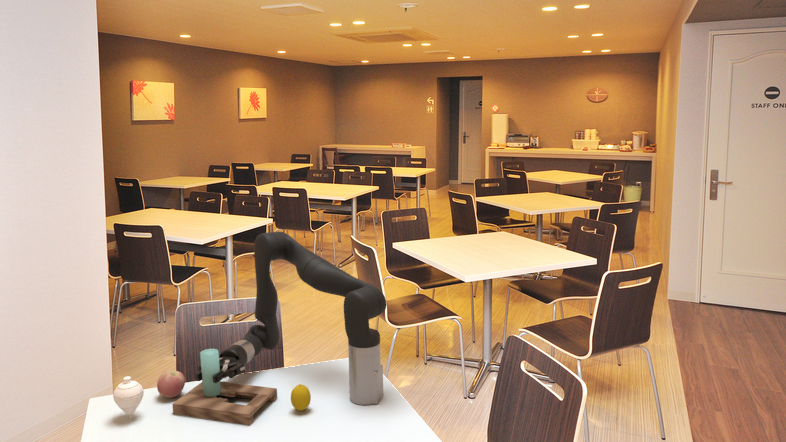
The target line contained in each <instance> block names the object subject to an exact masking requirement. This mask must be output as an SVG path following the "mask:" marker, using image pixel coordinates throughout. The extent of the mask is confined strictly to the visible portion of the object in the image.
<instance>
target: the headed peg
mask: <svg viewBox="0 0 786 442" xmlns="http://www.w3.org/2000/svg"><path fill="white" fill-rule="evenodd" d="M219 353H220V352H219V349H217V348H206V349H204V350H203V349H202V350H201V351H200V352H199V356H200V357H199V358H200V364H201V371H202V380H201V382H202V384H203V395H204V396H207V397H216V398H223V396H221V395H219V394H220V393H221V382H222V380H221V381H219V382H217V383H213V376H214V375H215V374H217V373H218V372H219V371H220V365H219V356H220V354H219Z"/></svg>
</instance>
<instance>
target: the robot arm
mask: <svg viewBox="0 0 786 442" xmlns="http://www.w3.org/2000/svg"><path fill="white" fill-rule="evenodd" d="M253 254H254V268H255V269H254V270H255V282H256V284H255V285H256V295H255V296H256V297H255V298H256V299H255V308H254V318H255V319H256V320H257V321H258V322H260V323H262V324H263V325H262V324H254V325H252V326H250V327H249V329H248V330H247V332H246V334H245V335H244V337H242V338H241V339H239V340H238V341H236V342H234V343H232V344H230V346H228V347H227V348H225V349H224V350H222V351H221V352H220V354H219V365H220V371H219V372H218V373H217V374H215V375H214V376H213V383H217V382H219V381H221V382H222V380H223V379H227V378H229V379H234V378H236V377H237V376H240V375H241V374H243V373H245V372H246V365H247V364H249V363H250V362H251V360H252V359H254V358H255V357H256V356H258V355H259V354H260V353H261V351H262V349H265V350H273V349H275V348H276V347H277V346H278V344H279V342H280V330H279V325H278V318H277V310H278V299H279V298H278V291H277V289H276V286H275V284H274V282H273V280H272V276H271V272H270V268H271V267H270V266H271V261H277V260H279V261H280V260H283V261H287V262H289V263H290V264H292V265H293V266H294V267H295V269H296V272H297V275H298V278H299V279H301V281H302V282H303V283H305V284H306V285H308V286H309V287H311V288H313V289H314V290H316V291H319V292H322V293H325V294H330V295H335V296H339V297H343V298H344V300H343V317H344V329H345V334H346V337H347V340H348V341H347V343H348V344H347V345H348V379H349V380H348V381H349V383H348V384H349V387H348V388H349V390H348V391H349V401H350V402H351V403H353V404H355V405H361V406H368V405H378V404H379V402H380V401H381V399H382V398H383V396H384V367H383V364H381V334H380V332H379V331H378V330H377V329H374V328H371V327H370V320H371V319H374V318H377V317H378V316H380V315H382V314H383V313H384V312H385V310H386V309H387V299H386V296H385V294H384V293H383V292H382V291H381V290H380V289H379V288H378V287H376V286H375V285H373V284H371V283H368V282H366V281H364V280H361V279H359V278H357V277H355V276H353V275H352V274H349V273H348V272H346V271H344V270H343V269H342V268H339V267H337V266H336V265H334V264H333V263H331V262H330V261H328V260H327V259H325V258H323V257H322V256H319V255H318V254H316V253H315V252H313V251H311V250H310V249H308V248H306V247H305V246H303V245H302V244H300V242H298V241H297V240H295V239H294V238H293V237H292V236H291V235H289V234H287V233H286V232H283V231H269V232H263V233H260V234H258V235H257V236H256V238H255V240H254V246H253ZM195 380H196V381H197V382H201V381H202V371H201V363H200V364H199V365H198V372H197V373H195Z"/></svg>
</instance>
